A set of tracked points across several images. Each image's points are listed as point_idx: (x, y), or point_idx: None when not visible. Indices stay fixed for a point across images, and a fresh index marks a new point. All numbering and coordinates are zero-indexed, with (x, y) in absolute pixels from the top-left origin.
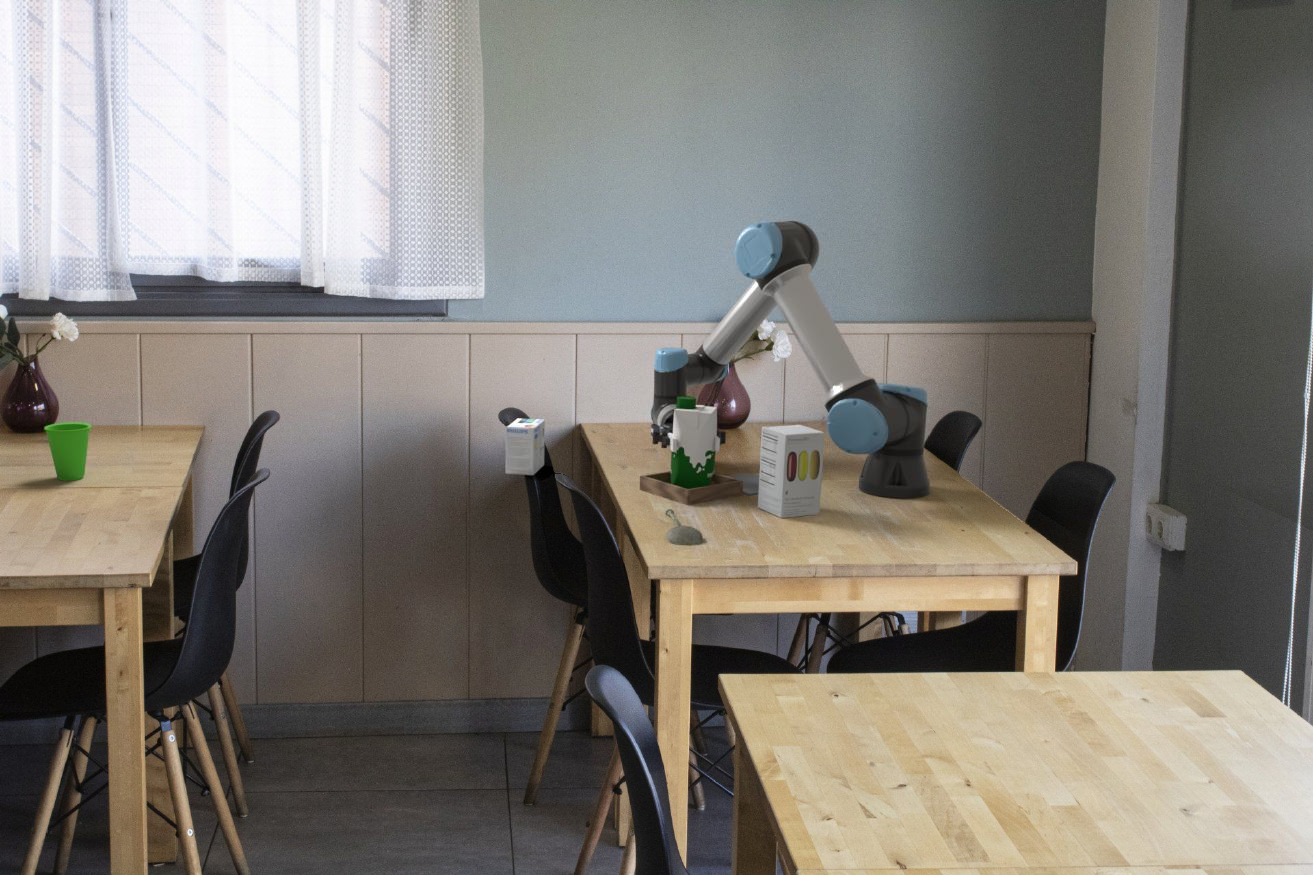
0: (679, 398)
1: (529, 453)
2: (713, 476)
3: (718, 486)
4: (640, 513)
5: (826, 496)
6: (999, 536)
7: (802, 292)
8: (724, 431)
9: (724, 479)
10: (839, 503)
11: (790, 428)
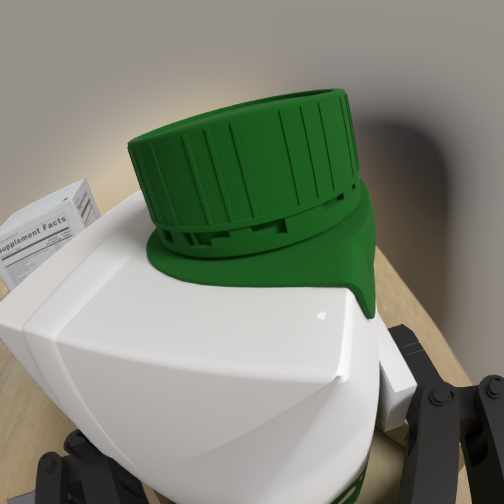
0: (311, 92)
1: None
2: None
3: None
4: (391, 289)
5: (8, 426)
6: (6, 287)
7: None
8: (36, 478)
9: (162, 501)
10: (20, 385)
11: (37, 205)
